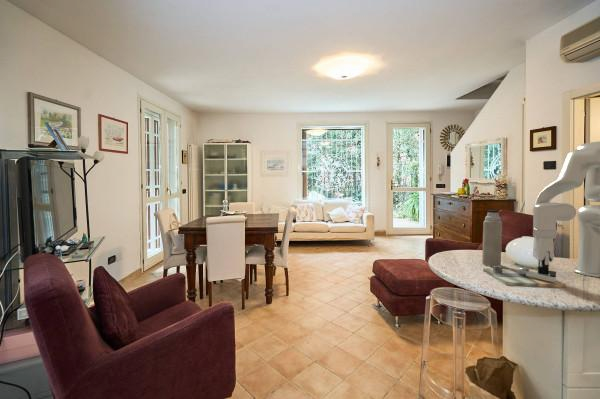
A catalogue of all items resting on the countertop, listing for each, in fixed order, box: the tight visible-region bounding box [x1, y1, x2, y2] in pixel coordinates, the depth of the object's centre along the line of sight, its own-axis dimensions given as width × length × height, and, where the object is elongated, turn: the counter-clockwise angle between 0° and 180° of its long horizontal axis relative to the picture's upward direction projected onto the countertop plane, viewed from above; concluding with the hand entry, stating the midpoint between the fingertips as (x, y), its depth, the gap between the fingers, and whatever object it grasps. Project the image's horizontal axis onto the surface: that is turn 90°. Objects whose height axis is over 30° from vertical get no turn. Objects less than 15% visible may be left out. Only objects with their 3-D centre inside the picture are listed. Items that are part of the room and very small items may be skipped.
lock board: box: [482, 265, 567, 288], centre depth 130 cm, size 22×20×4 cm
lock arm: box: [518, 266, 557, 282], centre depth 126 cm, size 13×4×4 cm, turn 31°
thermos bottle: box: [481, 209, 503, 268], centre depth 151 cm, size 8×8×28 cm
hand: (543, 275), depth 126 cm, fingers closed
